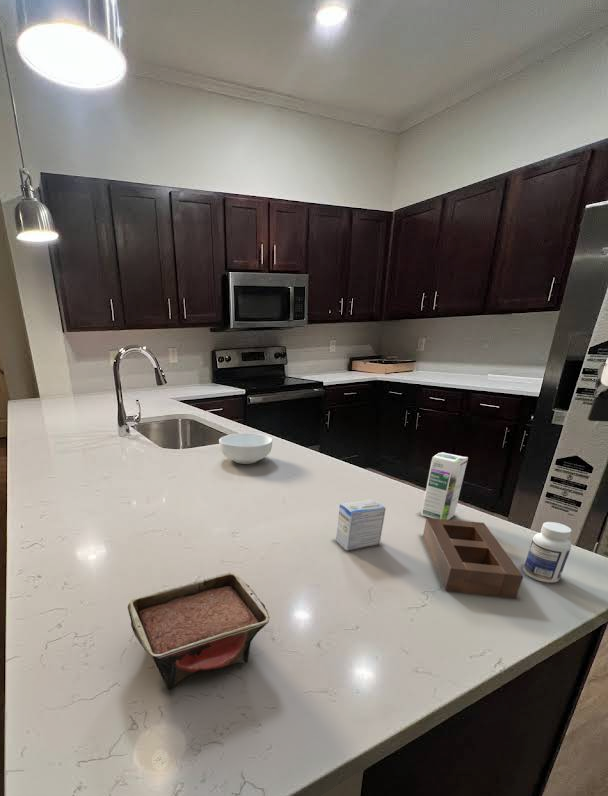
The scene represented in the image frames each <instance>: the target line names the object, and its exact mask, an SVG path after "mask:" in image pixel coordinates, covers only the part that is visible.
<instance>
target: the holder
mask: <svg viewBox="0 0 608 796" xmlns="http://www.w3.org/2000/svg"><path fill="white" fill-rule="evenodd" d="M423 528H424V529H423V533H422V539H423V541H424V544H425V546H426V548H427V551H428V553H429V555H430V558H431V560H432V562H433V565H434V567H435V570H436V572H437V574H438V577H439V579H440V581H441V584H442V587H443V588H444V590H445V591H448V592H455V593H465V594H474V595H483V596H490V597H500V598H505V599H506V598H507V599H514V600H515V599H517V597H518V593H519V591H520V587H521V586H522V585H521V584H522V581H523V578H524V575H523V574H522V572H521V571H520V569H519V568H518V566H517V565H516V564H515V563H514V561H513V560H512V559H511V557H510V556H509V555H508V553H507V552H506V551H505V549H504V548H503V546H502V545H501V544H500V542H499V541H498V540H497V538H496V537H495V536H494V534H493V533H492V532H491V531H490V529H489V528H488V526H487V525H486V524H485V522H480V521H466V520H457V519H449V520H445V519H433V518H429V517H427V518H425V523H424V527H423Z"/></svg>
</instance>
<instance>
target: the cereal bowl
mask: <svg viewBox="0 0 608 796" xmlns="http://www.w3.org/2000/svg"><path fill="white" fill-rule="evenodd" d="M218 445H219V450H220V452H221V454H222V455H223V456H224V457H225V458H227V459H229V460H232V461H233V462H234V463H237V464H242V465H251V464H255V463H257V462H258V461H260V460H262V459H265V458H266V457H267V456H268V455H269V454H270V453H271V451H272V448H273V439H272V437H271V436H268V435H266V434H261V433H260V434H259V433H252V432H241V433H239V432H238V433H231V434H227V435H224V436H221V437H220V438H219V439H218Z"/></svg>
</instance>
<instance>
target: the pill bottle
mask: <svg viewBox="0 0 608 796" xmlns="http://www.w3.org/2000/svg"><path fill="white" fill-rule="evenodd" d="M571 535H572V528H570V527H569V526H567V525H565V524H562V523H559V522H553V521H546V522H543V523H542V525H541V529H540V532H538V533H536V534H535V535H533V538H532V541H531V543H530V546H529V550H528V552H527V556H526V558H525V561H524V566H523V572H524V573H525V574H526V575H527V576H528V577H530V578H531V579H534V580H536V581H539V582H542V583H557V582H559V581H560V580H561V577H562V574H563V571H564V568H565V565H566V564H567V561H568V558H569V555H570V552H571V549H572V542H571V541H570V540H569V539H570V538H571Z"/></svg>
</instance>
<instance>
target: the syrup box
mask: <svg viewBox="0 0 608 796" xmlns="http://www.w3.org/2000/svg"><path fill="white" fill-rule="evenodd" d="M468 460H469V457H468V456H462V455H457V454H453V453H447V452H444V451H443V452H438V453H437V454H435V455H434V456H432V458H431V461H430V467H429V471H428V477H427V482H426V487H425V493H424V498H423V503H422V507H421V512H420V516H422V517H427V518H433V519H445V520H451V518H453V517H454V516H455V515H456V510H457V506H458V502H459V497H460V493H461V490H462V486H463V481H464V477H465V473H466V472H465V471H466V468H467V464H468Z"/></svg>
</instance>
